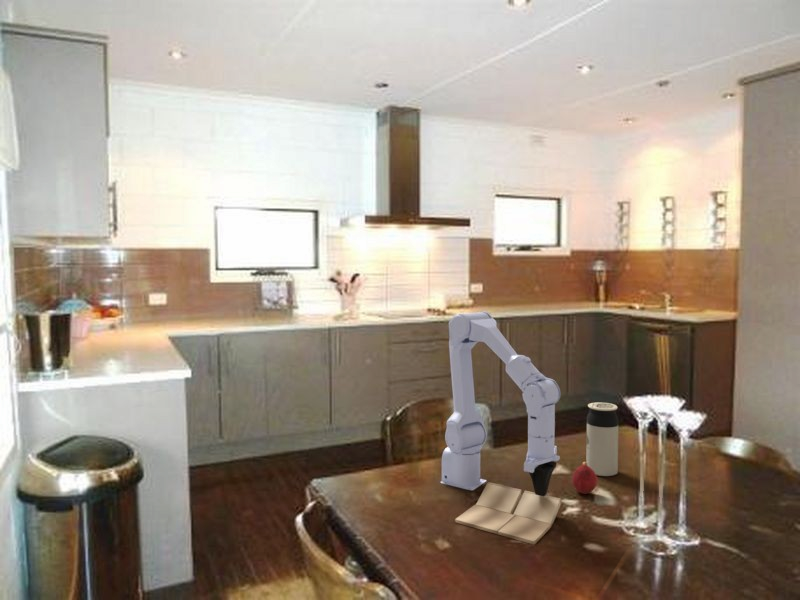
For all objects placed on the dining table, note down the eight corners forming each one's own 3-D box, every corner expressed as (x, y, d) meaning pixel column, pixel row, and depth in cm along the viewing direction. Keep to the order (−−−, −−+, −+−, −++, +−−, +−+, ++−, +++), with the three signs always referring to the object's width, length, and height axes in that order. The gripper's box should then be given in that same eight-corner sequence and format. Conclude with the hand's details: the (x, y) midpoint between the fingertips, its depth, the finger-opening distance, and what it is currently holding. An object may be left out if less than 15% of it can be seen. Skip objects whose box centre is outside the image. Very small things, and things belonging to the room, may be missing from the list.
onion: (598, 500, 138) (598, 467, 138) (573, 498, 139) (573, 465, 139) (595, 490, 144) (595, 459, 143) (571, 489, 145) (571, 457, 145)
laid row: (454, 524, 126) (454, 519, 126) (474, 509, 134) (474, 504, 134) (534, 547, 116) (534, 541, 116) (551, 529, 123) (551, 524, 123)
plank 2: (514, 517, 129) (513, 514, 128) (525, 494, 134) (524, 490, 133) (551, 527, 124) (550, 523, 124) (561, 502, 129) (560, 498, 128)
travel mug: (620, 469, 158) (621, 404, 157) (613, 479, 151) (614, 410, 150) (590, 464, 162) (591, 400, 161) (582, 473, 156) (583, 406, 155)
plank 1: (477, 508, 134) (475, 504, 134) (489, 485, 139) (488, 481, 139) (511, 517, 129) (509, 513, 129) (522, 493, 134) (521, 489, 134)
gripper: (546, 446, 121) (546, 510, 122) (570, 429, 133) (569, 487, 134) (514, 440, 125) (514, 502, 126) (540, 424, 137) (540, 481, 138)
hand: (540, 494), depth 130 cm, fingers closed
